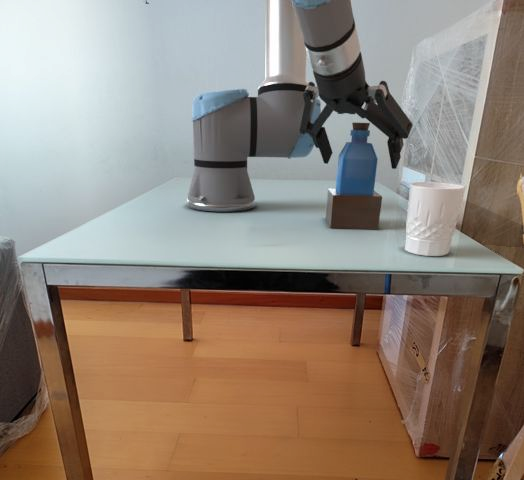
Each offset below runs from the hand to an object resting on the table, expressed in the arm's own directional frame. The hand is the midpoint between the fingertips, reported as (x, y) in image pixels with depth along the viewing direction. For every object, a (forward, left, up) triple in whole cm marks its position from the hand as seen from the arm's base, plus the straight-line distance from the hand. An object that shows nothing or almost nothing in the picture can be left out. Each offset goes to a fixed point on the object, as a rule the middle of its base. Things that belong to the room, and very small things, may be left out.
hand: (361, 160), depth 90 cm
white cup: (+22, +8, -12) cm, 26 cm away
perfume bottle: (+2, -1, -6) cm, 6 cm away
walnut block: (+2, -1, -12) cm, 12 cm away
